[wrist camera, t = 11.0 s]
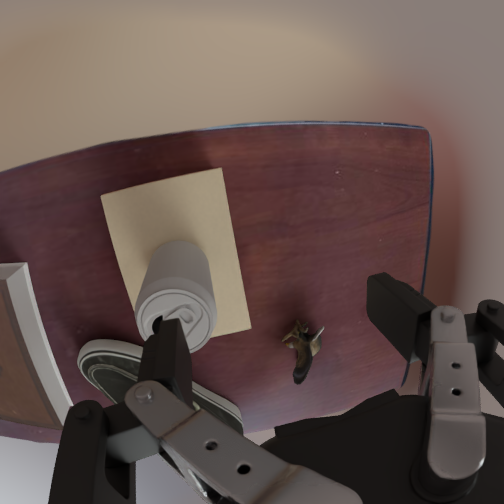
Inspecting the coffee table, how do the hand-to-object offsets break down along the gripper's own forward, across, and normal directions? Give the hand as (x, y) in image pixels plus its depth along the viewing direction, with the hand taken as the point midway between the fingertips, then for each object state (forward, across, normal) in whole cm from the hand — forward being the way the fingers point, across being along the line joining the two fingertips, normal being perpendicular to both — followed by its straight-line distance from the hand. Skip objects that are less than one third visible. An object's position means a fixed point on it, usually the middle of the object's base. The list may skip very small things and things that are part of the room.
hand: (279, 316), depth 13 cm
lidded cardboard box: (+29, +6, +5) cm, 30 cm away
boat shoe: (+28, +15, +28) cm, 43 cm away
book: (+28, +44, +15) cm, 54 cm away
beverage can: (+21, +6, +5) cm, 22 cm away
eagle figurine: (+29, -8, +24) cm, 38 cm away
